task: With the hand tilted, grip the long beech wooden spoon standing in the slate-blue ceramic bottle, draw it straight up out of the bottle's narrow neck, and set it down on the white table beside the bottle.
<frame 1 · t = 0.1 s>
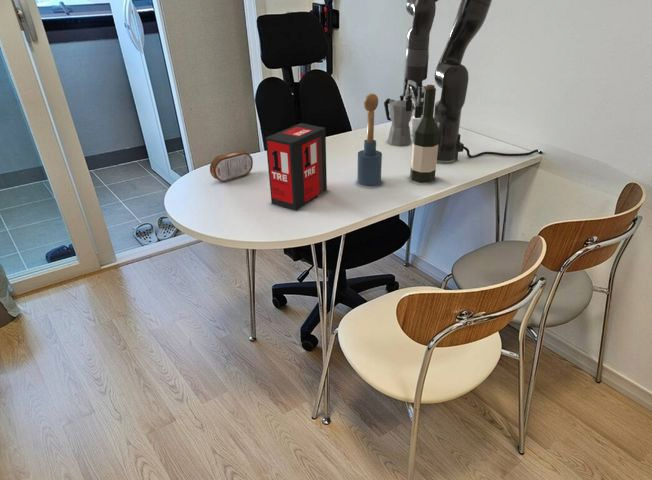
hand: (412, 114, 168), 17 cm above the table, tool pointing down, fingers open, 8 cm apart
spoon: (369, 181, 161), point 1 cm above the table, touching bottle
medicine bottle: (420, 134, 206), on the table
tin: (234, 178, 164), on the table
bottle: (369, 183, 162), on the table
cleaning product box: (300, 198, 152), on the table
wine bottle: (422, 180, 165), on the table
coffeepot: (397, 142, 197), on the table
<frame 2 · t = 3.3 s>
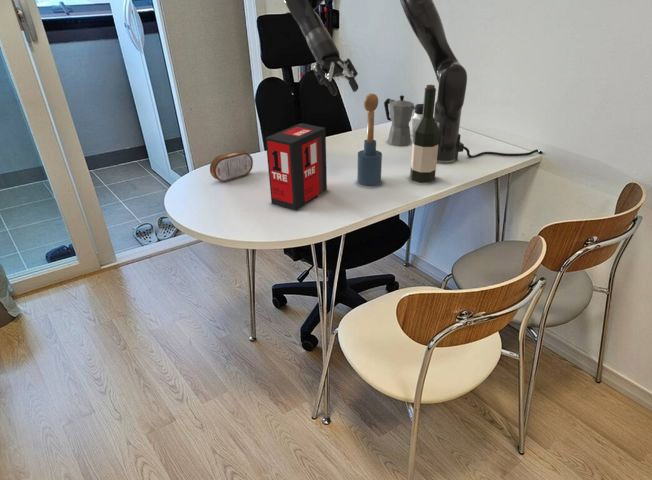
hand: (346, 92, 154), 27 cm above the table, tool tilted 45°, fingers open, 8 cm apart
nothing on the table moved.
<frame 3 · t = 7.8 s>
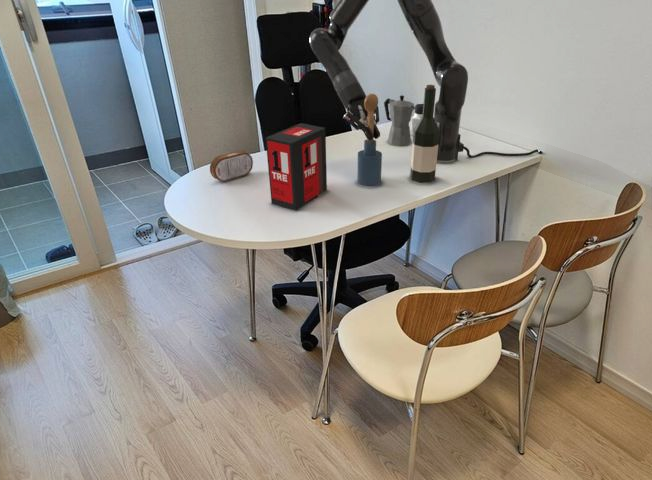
hand: (374, 138, 152), 15 cm above the table, tool tilted 45°, fingers closed on spoon, 2 cm apart
spoon: (369, 181, 161), point 1 cm above the table, touching bottle, gripper
everything else where it was.
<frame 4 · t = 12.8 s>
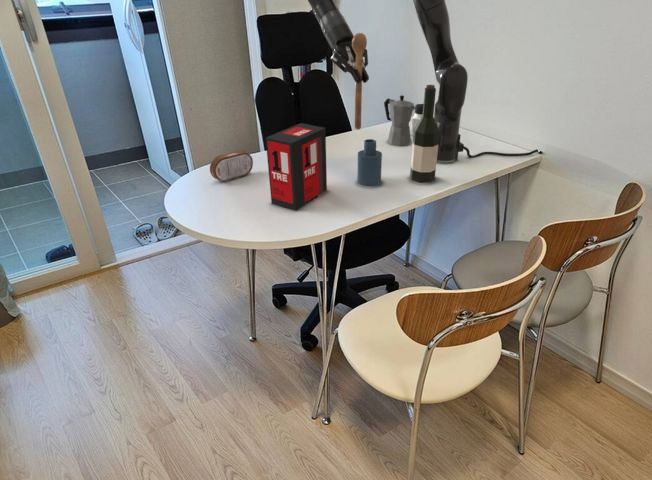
hand: (363, 81, 147), 31 cm above the table, tool tilted 45°, fingers closed on spoon
spoon: (357, 129, 156), point 16 cm above the table, touching gripper
everything else where it was.
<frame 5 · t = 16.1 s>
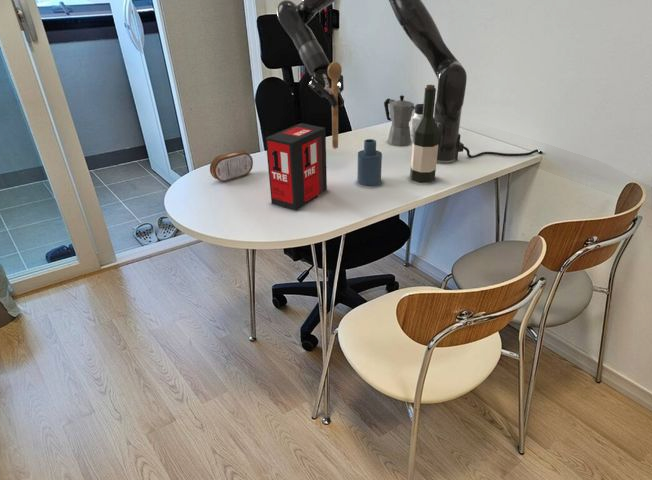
hand: (339, 105, 159), 22 cm above the table, tool tilted 45°, fingers closed on spoon
spoon: (335, 148, 169), point 7 cm above the table, touching gripper
everything else where it was.
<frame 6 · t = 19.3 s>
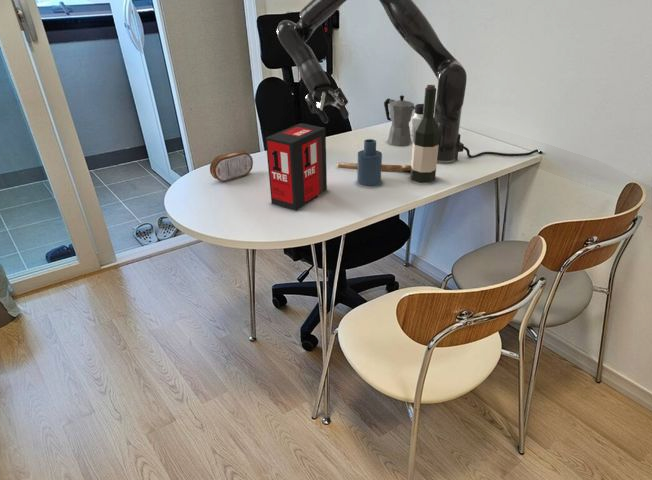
hand: (337, 119, 163), 17 cm above the table, tool tilted 45°, fingers open, 8 cm apart
spoon: (337, 165, 172), point 1 cm above the table, tilted 88°, touching wine bottle
wine bottle: (422, 180, 165), on the table, touching spoon
everything else where it was.
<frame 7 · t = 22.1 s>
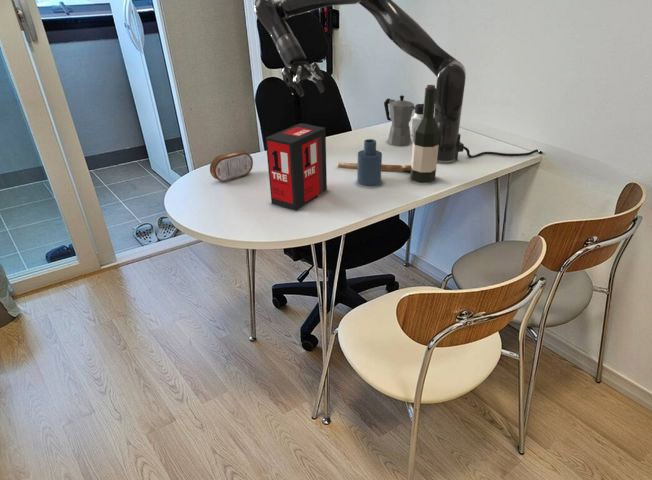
hand: (312, 93, 167), 23 cm above the table, tool tilted 45°, fingers open, 8 cm apart
nothing on the table moved.
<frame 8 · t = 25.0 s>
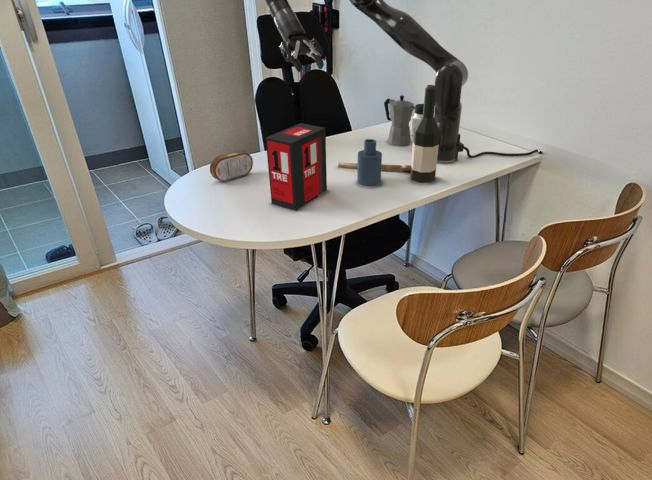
hand: (311, 69, 163), 31 cm above the table, tool tilted 45°, fingers open, 8 cm apart
nothing on the table moved.
at the end: spoon inside the target area (0.6 cm from its centre), point 1.0 cm above the table; spoon touching wine bottle, table; the gripper is holding nothing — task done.
